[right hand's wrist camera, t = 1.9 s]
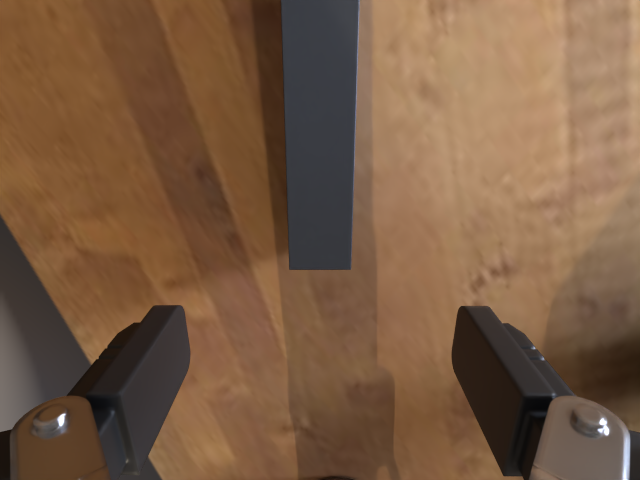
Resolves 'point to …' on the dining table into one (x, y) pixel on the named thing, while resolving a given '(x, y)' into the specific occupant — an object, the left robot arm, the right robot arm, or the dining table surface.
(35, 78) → the dining table surface
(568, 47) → the dining table surface
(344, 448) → the dining table surface
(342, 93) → the bar
